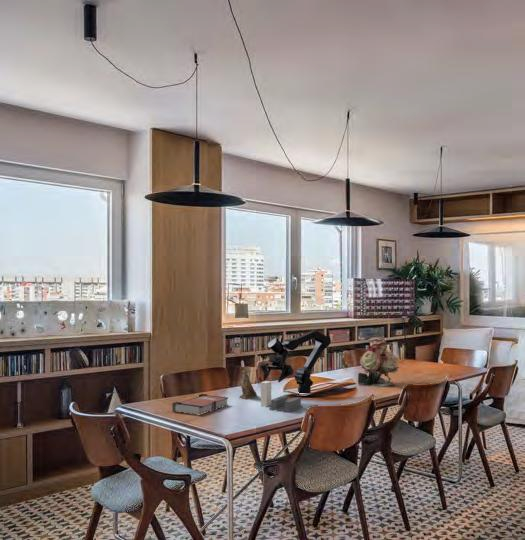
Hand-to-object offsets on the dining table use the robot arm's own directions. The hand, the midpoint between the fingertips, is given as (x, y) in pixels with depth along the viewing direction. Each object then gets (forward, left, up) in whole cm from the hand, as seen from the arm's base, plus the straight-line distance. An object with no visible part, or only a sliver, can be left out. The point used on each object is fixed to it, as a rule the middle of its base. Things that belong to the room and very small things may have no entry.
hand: (271, 381), depth 306 cm
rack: (-4, +14, -12) cm, 19 cm away
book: (+38, +1, -13) cm, 40 cm away
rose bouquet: (-82, -36, -12) cm, 90 cm away
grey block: (+4, +4, -12) cm, 13 cm away
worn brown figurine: (+8, -20, -12) cm, 25 cm away
